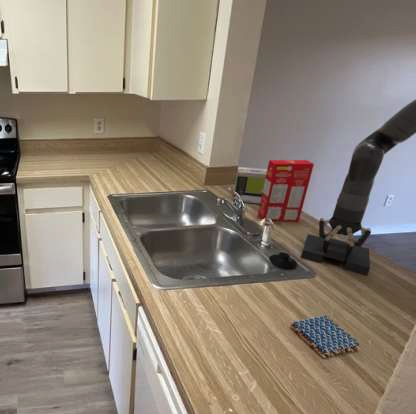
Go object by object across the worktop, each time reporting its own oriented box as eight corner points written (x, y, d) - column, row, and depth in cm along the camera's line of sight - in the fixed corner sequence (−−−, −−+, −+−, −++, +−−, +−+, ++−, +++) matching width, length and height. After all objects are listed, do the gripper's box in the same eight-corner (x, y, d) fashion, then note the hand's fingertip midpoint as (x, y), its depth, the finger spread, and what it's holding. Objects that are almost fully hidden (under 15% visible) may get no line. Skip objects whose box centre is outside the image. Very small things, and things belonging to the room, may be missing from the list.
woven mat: (287, 326, 83) (289, 320, 82) (322, 319, 85) (324, 313, 85) (321, 359, 74) (324, 352, 73) (360, 350, 76) (363, 344, 75)
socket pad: (366, 256, 113) (369, 248, 112) (366, 275, 103) (370, 267, 101) (305, 241, 123) (307, 233, 122) (300, 257, 112) (302, 249, 111)
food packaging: (292, 216, 143) (306, 160, 133) (298, 221, 138) (314, 163, 128) (257, 216, 143) (269, 160, 133) (262, 221, 138) (275, 163, 128)
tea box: (266, 198, 162) (272, 169, 156) (267, 205, 154) (274, 175, 148) (233, 194, 167) (238, 165, 161) (233, 201, 159) (238, 171, 153)
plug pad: (344, 249, 112) (347, 242, 111) (343, 261, 105) (346, 253, 104) (327, 245, 115) (329, 237, 114) (325, 256, 108) (327, 248, 107)
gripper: (323, 203, 104) (309, 250, 111) (381, 214, 96) (362, 264, 103) (324, 196, 110) (311, 241, 117) (379, 206, 102) (362, 253, 109)
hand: (335, 251), depth 110 cm, fingers closed on plug pad, 5 cm apart
